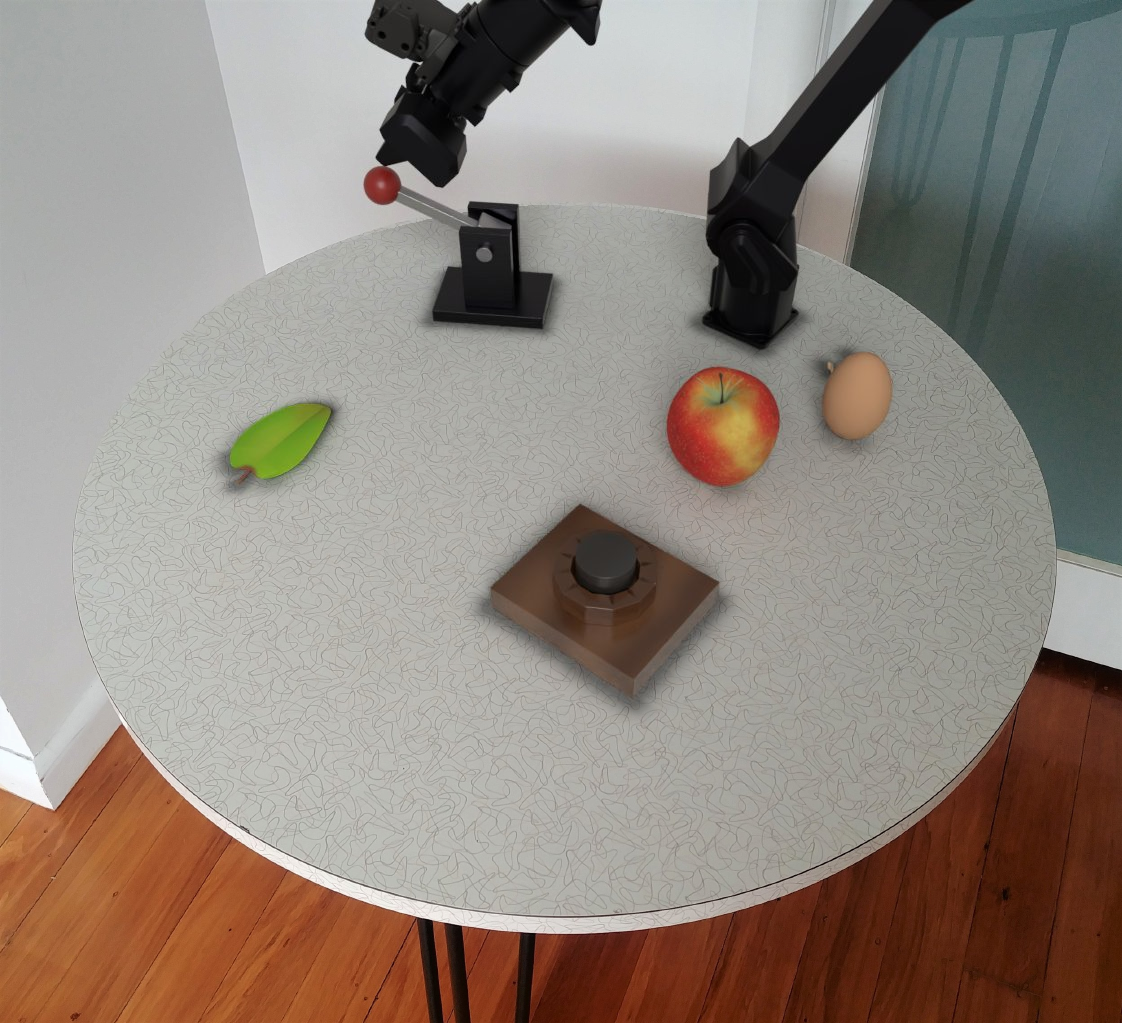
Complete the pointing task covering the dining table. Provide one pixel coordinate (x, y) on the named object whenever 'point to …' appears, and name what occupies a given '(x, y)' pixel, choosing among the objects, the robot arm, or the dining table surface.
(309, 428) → the decorative leaf
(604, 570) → the button
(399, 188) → the switch
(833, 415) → the egg
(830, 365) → the nutmeg
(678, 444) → the apple
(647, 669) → the button block
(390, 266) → the dining table surface
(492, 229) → the bracket
